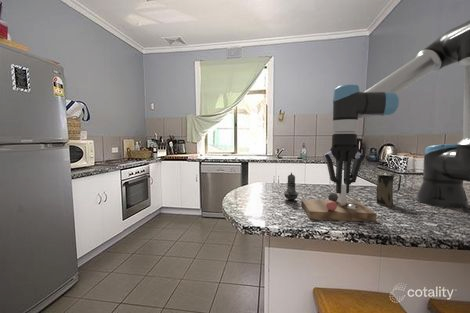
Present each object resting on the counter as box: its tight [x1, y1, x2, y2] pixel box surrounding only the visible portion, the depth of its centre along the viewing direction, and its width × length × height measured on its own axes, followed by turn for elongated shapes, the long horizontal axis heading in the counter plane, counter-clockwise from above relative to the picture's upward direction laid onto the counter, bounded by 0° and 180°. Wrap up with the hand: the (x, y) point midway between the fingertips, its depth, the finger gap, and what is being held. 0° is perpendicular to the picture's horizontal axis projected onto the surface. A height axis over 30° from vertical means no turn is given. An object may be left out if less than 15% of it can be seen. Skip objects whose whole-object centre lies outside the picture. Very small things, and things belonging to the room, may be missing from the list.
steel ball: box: [347, 204, 357, 208], centre depth 77 cm, size 3×3×3 cm
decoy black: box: [328, 192, 339, 202], centre depth 82 cm, size 3×3×3 cm
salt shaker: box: [283, 172, 299, 204], centre depth 91 cm, size 6×6×12 cm
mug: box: [375, 173, 402, 207], centre depth 87 cm, size 8×6×12 cm
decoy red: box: [326, 201, 337, 211], centre depth 72 cm, size 3×3×3 cm
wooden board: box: [300, 199, 378, 222], centre depth 77 cm, size 20×14×2 cm
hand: (341, 202), depth 77 cm, fingers closed
